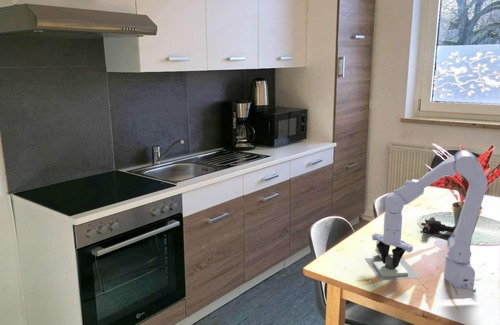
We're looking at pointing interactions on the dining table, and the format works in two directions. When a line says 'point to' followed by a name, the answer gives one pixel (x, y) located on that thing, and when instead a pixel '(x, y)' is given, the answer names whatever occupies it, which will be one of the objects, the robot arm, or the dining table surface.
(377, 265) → the lid
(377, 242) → the bolt
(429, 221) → the black power drill
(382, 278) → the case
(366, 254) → the dining table surface
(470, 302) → the dining table surface
